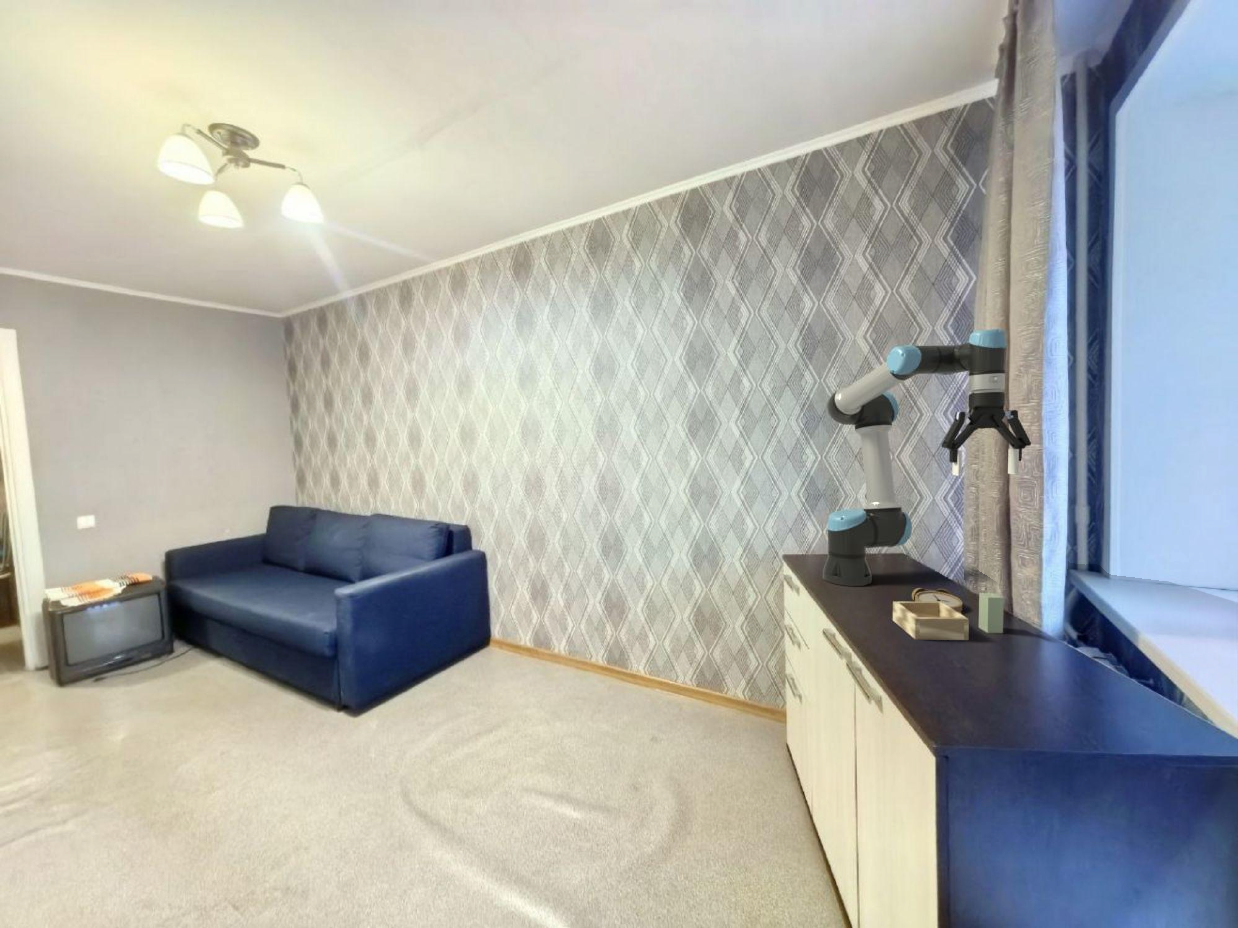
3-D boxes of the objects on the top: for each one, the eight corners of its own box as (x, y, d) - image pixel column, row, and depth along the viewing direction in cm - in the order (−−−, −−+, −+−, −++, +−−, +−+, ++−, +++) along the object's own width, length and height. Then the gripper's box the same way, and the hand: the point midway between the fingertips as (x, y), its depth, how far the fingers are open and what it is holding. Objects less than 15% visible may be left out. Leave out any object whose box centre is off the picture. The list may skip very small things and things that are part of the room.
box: (892, 623, 131) (892, 601, 131) (940, 624, 130) (941, 601, 130) (915, 643, 119) (915, 618, 119) (968, 643, 118) (968, 619, 118)
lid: (947, 624, 130) (948, 586, 130) (1001, 625, 129) (1001, 586, 128) (978, 646, 118) (979, 604, 117) (1038, 647, 116) (1039, 604, 116)
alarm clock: (923, 607, 135) (905, 580, 149) (922, 623, 137) (904, 595, 151) (970, 609, 133) (948, 582, 147) (968, 625, 134) (946, 597, 148)
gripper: (942, 392, 125) (941, 477, 126) (1050, 389, 122) (1047, 475, 124) (927, 394, 132) (926, 474, 134) (1028, 391, 130) (1026, 472, 131)
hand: (984, 474), depth 129 cm, fingers open, 13 cm apart
